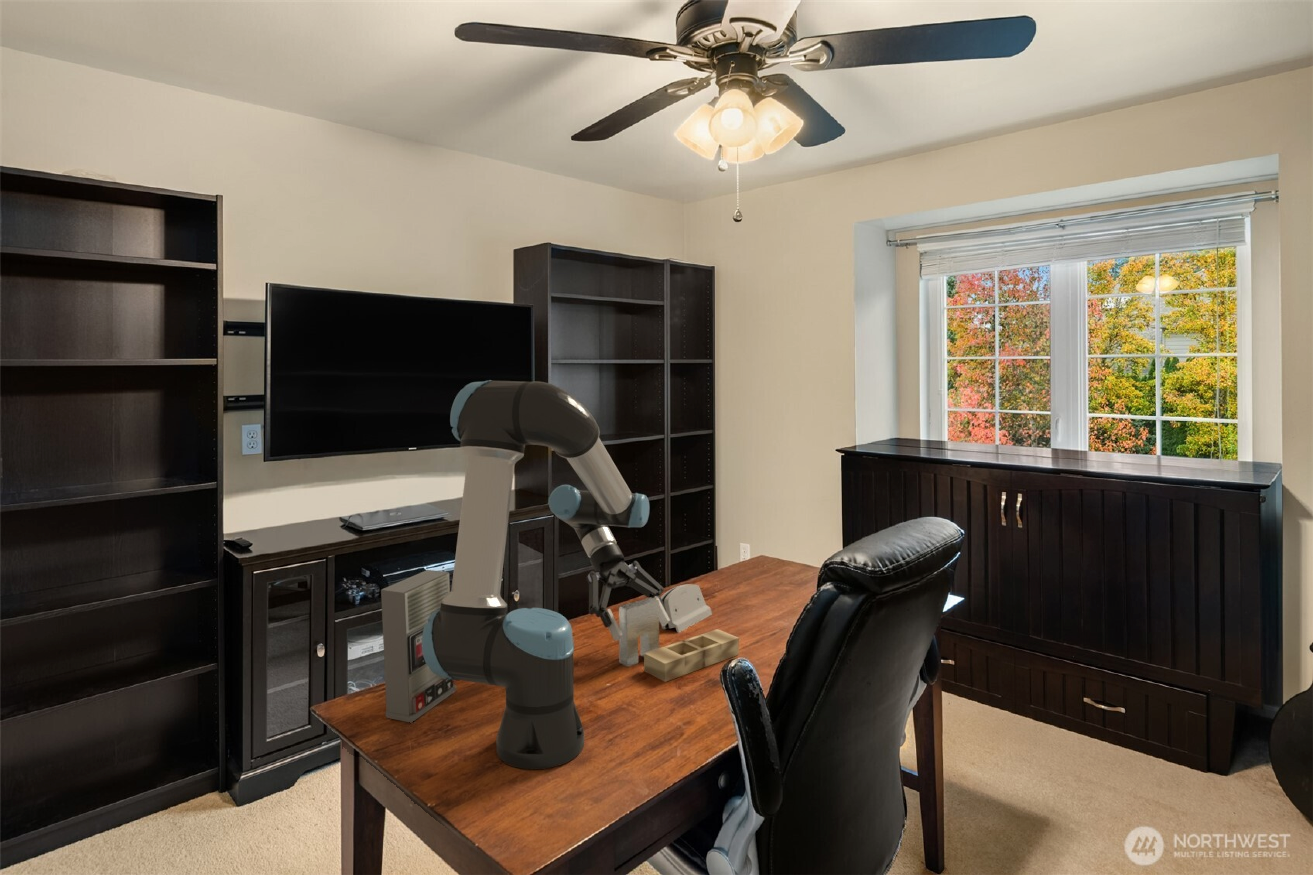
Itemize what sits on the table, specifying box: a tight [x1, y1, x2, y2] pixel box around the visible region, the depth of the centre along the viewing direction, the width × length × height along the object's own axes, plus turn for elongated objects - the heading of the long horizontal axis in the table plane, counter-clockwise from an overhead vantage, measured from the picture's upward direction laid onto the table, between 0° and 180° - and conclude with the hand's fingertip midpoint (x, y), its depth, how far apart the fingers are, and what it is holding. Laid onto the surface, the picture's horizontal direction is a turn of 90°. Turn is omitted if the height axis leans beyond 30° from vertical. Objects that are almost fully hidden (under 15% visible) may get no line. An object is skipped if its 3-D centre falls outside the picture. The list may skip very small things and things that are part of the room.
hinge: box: [660, 583, 713, 634], centre depth 188 cm, size 17×5×10 cm, turn 145°
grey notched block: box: [618, 597, 660, 667], centre depth 163 cm, size 9×3×13 cm, turn 129°
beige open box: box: [643, 628, 740, 683], centre depth 162 cm, size 22×7×4 cm, turn 129°
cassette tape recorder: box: [380, 569, 457, 724], centre depth 141 cm, size 14×6×25 cm, turn 160°
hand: (643, 630), depth 163 cm, fingers open, 13 cm apart
